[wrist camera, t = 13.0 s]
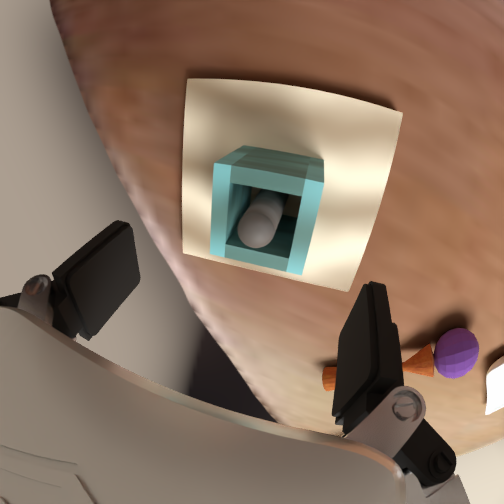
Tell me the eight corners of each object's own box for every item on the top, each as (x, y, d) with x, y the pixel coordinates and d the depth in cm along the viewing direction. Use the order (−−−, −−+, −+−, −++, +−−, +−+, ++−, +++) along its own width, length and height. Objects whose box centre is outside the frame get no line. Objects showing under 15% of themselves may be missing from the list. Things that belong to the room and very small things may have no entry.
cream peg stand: (195, 79, 18) (120, 76, 11) (397, 112, 16) (450, 123, 8) (189, 245, 27) (139, 306, 19) (347, 281, 25) (349, 362, 17)
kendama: (314, 380, 28) (485, 344, 18) (324, 348, 33) (472, 312, 23) (328, 409, 30) (480, 380, 19) (336, 377, 35) (472, 347, 24)
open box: (243, 145, 19) (214, 162, 14) (323, 159, 18) (324, 183, 13) (236, 216, 22) (209, 253, 18) (308, 231, 22) (301, 275, 17)
